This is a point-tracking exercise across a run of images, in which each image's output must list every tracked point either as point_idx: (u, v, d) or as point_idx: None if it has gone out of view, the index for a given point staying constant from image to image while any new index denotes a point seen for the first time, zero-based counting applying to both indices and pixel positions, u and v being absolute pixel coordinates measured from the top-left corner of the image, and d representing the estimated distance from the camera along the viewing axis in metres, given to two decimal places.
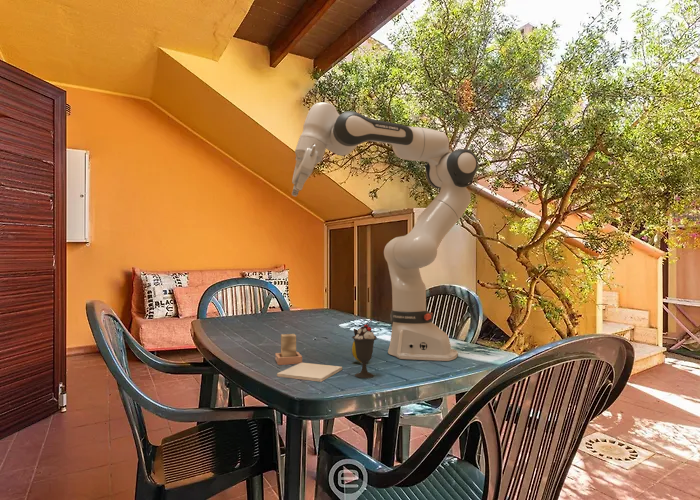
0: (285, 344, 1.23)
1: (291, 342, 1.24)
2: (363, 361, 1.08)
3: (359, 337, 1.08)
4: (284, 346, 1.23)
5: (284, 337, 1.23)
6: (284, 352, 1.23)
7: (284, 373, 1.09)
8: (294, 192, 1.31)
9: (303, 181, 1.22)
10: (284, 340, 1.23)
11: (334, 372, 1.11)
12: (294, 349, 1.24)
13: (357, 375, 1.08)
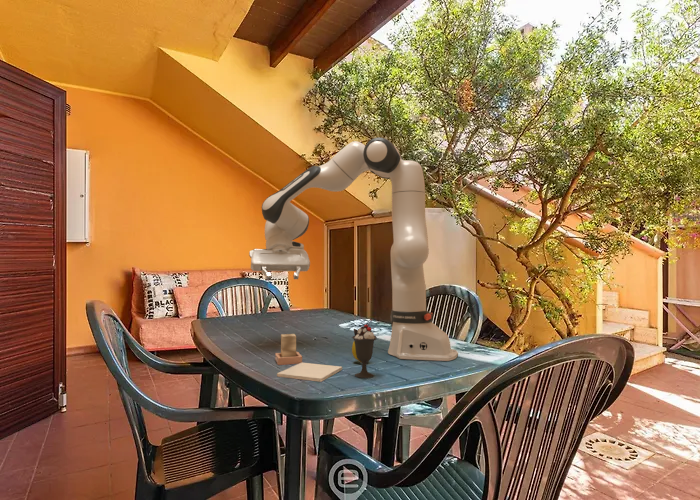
0: (285, 344, 1.23)
1: (291, 342, 1.24)
2: (363, 361, 1.08)
3: (359, 337, 1.08)
4: (284, 346, 1.23)
5: (284, 337, 1.23)
6: (284, 352, 1.23)
7: (284, 373, 1.09)
8: (293, 276, 1.41)
9: (263, 271, 1.38)
10: (284, 340, 1.23)
11: (334, 372, 1.11)
12: (294, 349, 1.24)
13: (357, 375, 1.08)
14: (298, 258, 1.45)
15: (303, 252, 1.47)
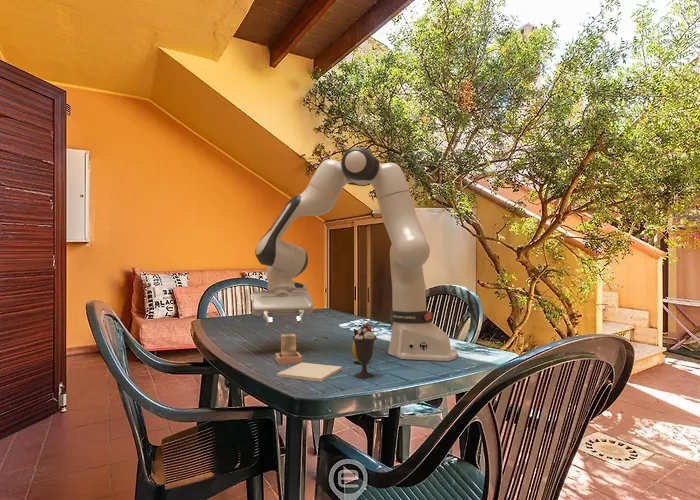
0: (285, 344, 1.23)
1: (291, 342, 1.24)
2: (363, 361, 1.08)
3: (359, 337, 1.08)
4: (284, 346, 1.23)
5: (284, 337, 1.23)
6: (284, 352, 1.23)
7: (284, 373, 1.09)
8: (296, 321, 1.35)
9: (265, 316, 1.33)
10: (284, 340, 1.23)
11: (334, 372, 1.11)
12: (294, 349, 1.24)
13: (357, 375, 1.08)
14: (301, 300, 1.39)
15: (306, 294, 1.41)
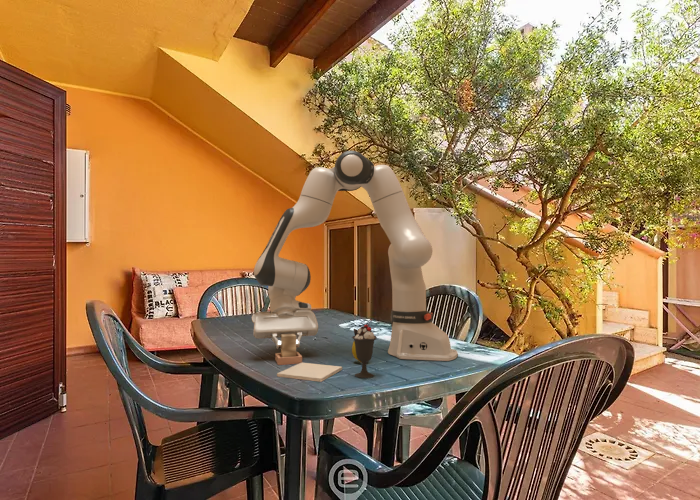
0: (285, 344, 1.23)
1: (291, 342, 1.24)
2: (363, 361, 1.08)
3: (359, 337, 1.08)
4: (284, 346, 1.23)
5: (284, 337, 1.23)
6: (284, 352, 1.23)
7: (284, 373, 1.09)
8: None
9: (274, 339, 1.26)
10: (284, 340, 1.23)
11: (334, 372, 1.11)
12: (294, 349, 1.24)
13: (357, 375, 1.08)
14: (305, 322, 1.32)
15: (311, 314, 1.34)
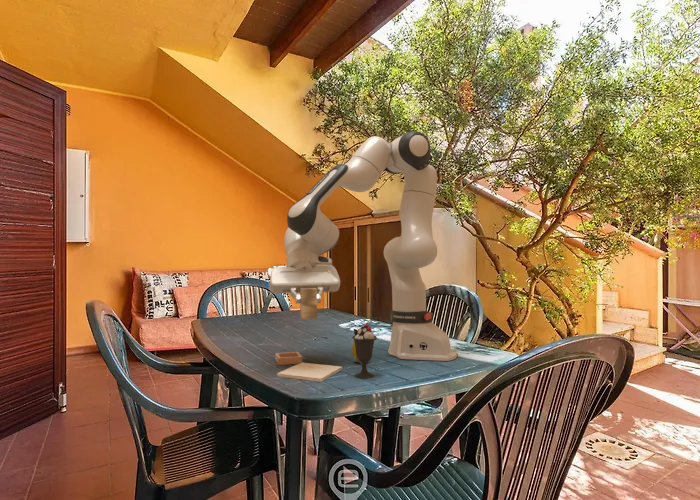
0: (305, 298, 1.12)
1: (312, 295, 1.12)
2: (363, 361, 1.08)
3: (359, 337, 1.08)
4: (304, 300, 1.12)
5: (304, 290, 1.12)
6: (304, 306, 1.12)
7: (284, 373, 1.09)
8: None
9: (293, 294, 1.15)
10: (304, 293, 1.12)
11: (334, 372, 1.11)
12: (315, 303, 1.13)
13: (357, 375, 1.08)
14: (326, 276, 1.20)
15: (331, 269, 1.22)
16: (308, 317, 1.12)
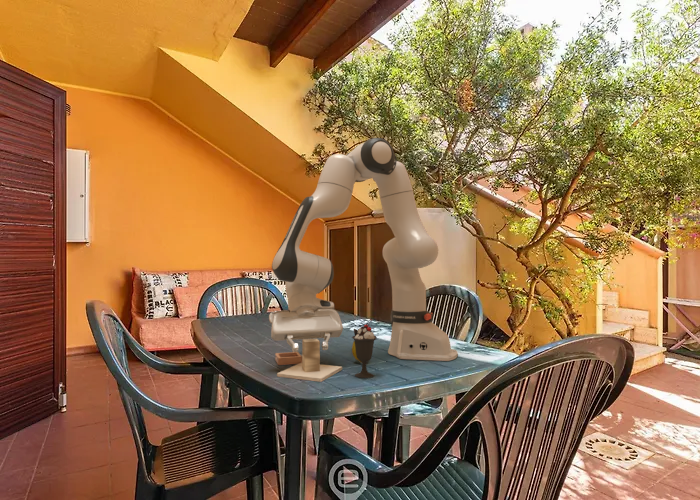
0: (308, 350, 1.10)
1: (314, 348, 1.11)
2: (363, 361, 1.08)
3: (359, 337, 1.08)
4: (306, 353, 1.10)
5: (306, 342, 1.10)
6: (306, 359, 1.10)
7: (284, 373, 1.09)
8: (322, 347, 1.14)
9: (290, 342, 1.12)
10: (306, 346, 1.10)
11: (334, 372, 1.11)
12: (317, 356, 1.11)
13: (357, 375, 1.08)
14: (328, 322, 1.19)
15: (334, 313, 1.21)
16: (310, 370, 1.10)
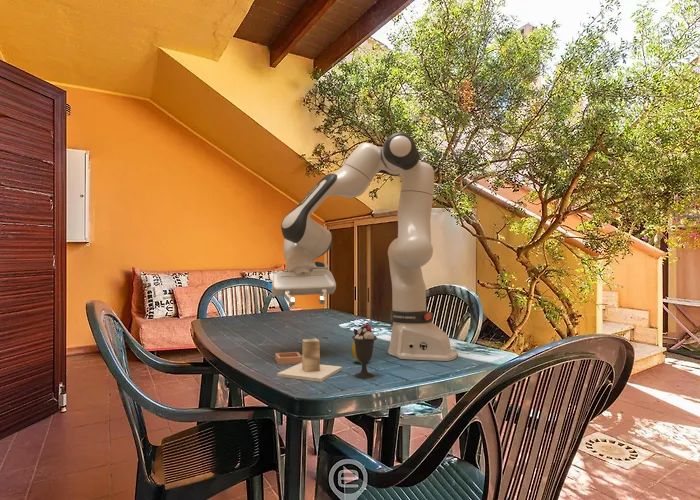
0: (308, 350, 1.10)
1: (314, 348, 1.11)
2: (363, 361, 1.08)
3: (359, 337, 1.08)
4: (306, 353, 1.10)
5: (306, 342, 1.10)
6: (306, 359, 1.10)
7: (284, 373, 1.09)
8: (319, 301, 1.28)
9: (287, 297, 1.25)
10: (306, 346, 1.10)
11: (334, 372, 1.11)
12: (317, 356, 1.11)
13: (357, 375, 1.08)
14: (323, 280, 1.32)
15: (328, 273, 1.34)
16: (310, 370, 1.10)
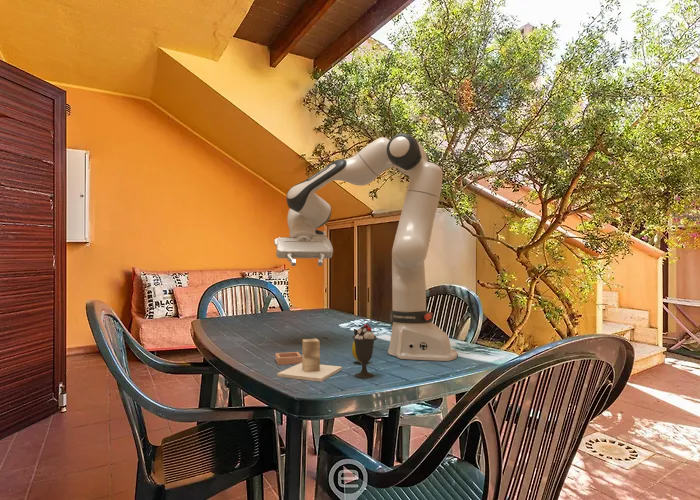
0: (308, 350, 1.10)
1: (314, 348, 1.11)
2: (363, 361, 1.08)
3: (359, 337, 1.08)
4: (306, 353, 1.10)
5: (306, 342, 1.10)
6: (306, 359, 1.10)
7: (284, 373, 1.09)
8: (318, 263, 1.44)
9: (289, 258, 1.42)
10: (306, 346, 1.10)
11: (334, 372, 1.11)
12: (317, 356, 1.11)
13: (357, 375, 1.08)
14: (321, 245, 1.49)
15: (326, 240, 1.51)
16: (310, 370, 1.10)
